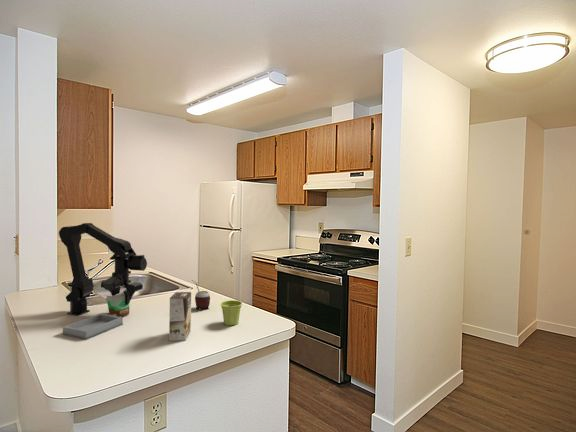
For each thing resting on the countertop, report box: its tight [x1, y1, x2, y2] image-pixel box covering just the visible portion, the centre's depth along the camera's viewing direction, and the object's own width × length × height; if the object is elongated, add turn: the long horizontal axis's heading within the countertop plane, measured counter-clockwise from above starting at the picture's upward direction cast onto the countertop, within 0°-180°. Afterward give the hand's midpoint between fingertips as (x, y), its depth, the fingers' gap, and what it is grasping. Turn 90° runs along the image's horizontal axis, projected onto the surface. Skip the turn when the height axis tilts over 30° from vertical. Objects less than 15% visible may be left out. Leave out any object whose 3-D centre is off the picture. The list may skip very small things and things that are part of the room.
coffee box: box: [168, 291, 192, 342], centre depth 134 cm, size 9×6×16 cm
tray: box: [62, 313, 124, 341], centre depth 139 cm, size 12×17×3 cm
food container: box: [105, 289, 131, 318], centre depth 155 cm, size 12×6×10 cm, turn 166°
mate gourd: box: [191, 279, 211, 312], centre depth 167 cm, size 8×8×15 cm
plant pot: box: [219, 300, 243, 326], centre depth 149 cm, size 9×9×9 cm
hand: (121, 304), depth 155 cm, fingers closed on food container, 6 cm apart
